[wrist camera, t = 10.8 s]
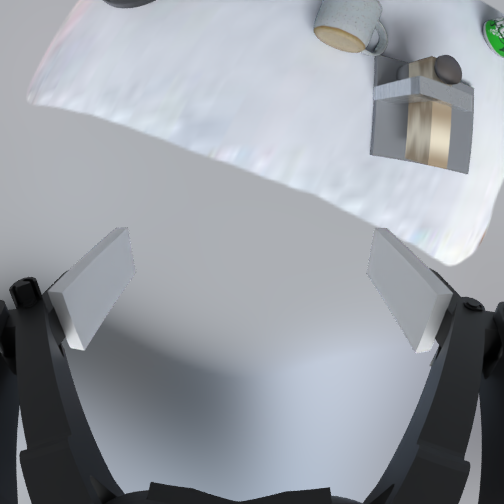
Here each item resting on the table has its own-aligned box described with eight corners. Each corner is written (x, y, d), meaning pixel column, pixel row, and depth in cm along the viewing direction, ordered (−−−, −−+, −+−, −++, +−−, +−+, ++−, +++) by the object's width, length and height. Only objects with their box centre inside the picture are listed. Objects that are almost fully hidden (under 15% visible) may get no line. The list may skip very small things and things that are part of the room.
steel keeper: (373, 87, 33) (420, 75, 21) (418, 98, 33) (472, 95, 21) (373, 100, 34) (419, 93, 22) (418, 110, 34) (472, 111, 22)
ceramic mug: (305, 39, 31) (317, 22, 24) (321, -3, 28) (335, -25, 21) (375, 70, 32) (400, 61, 25) (388, 28, 29) (412, 14, 22)
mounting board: (374, 55, 31) (384, 50, 28) (470, 88, 31) (483, 87, 28) (370, 154, 37) (379, 157, 34) (464, 173, 37) (476, 177, 34)
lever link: (406, 60, 28) (437, 50, 21) (428, 67, 28) (461, 60, 21) (402, 157, 33) (433, 167, 26) (424, 161, 33) (456, 172, 26)
